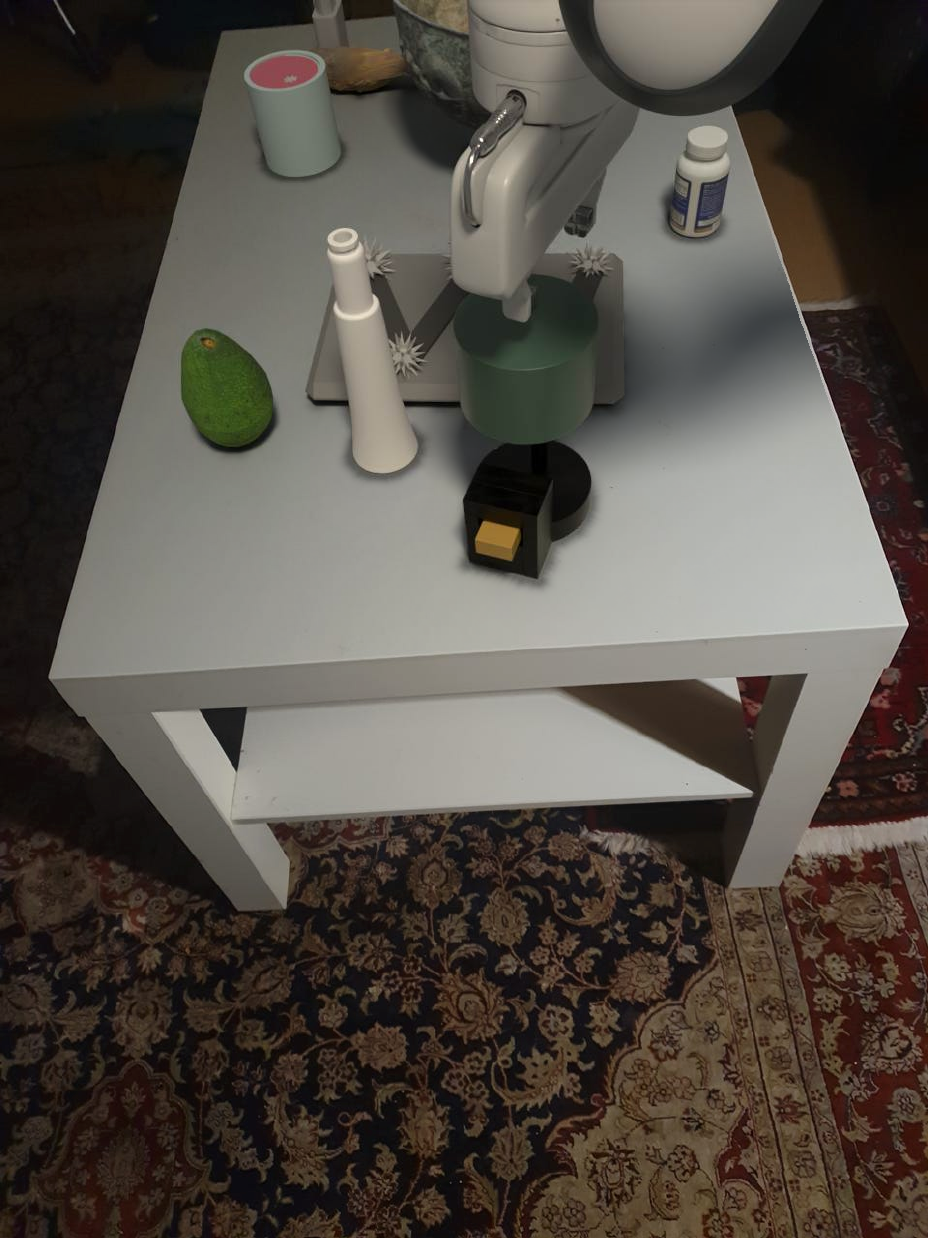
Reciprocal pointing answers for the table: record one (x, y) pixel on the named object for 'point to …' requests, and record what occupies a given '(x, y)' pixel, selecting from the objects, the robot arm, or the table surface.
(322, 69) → the mug
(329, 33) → the power adapter
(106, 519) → the table surface
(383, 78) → the bird model
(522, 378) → the desk lamp
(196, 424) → the fruit
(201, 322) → the table surface
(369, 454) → the cosmetic bottle
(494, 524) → the lamp switch
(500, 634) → the table surface
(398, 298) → the decorative plate
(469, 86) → the decorative bowl
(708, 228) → the pill bottle
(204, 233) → the table surface
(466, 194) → the robot arm
